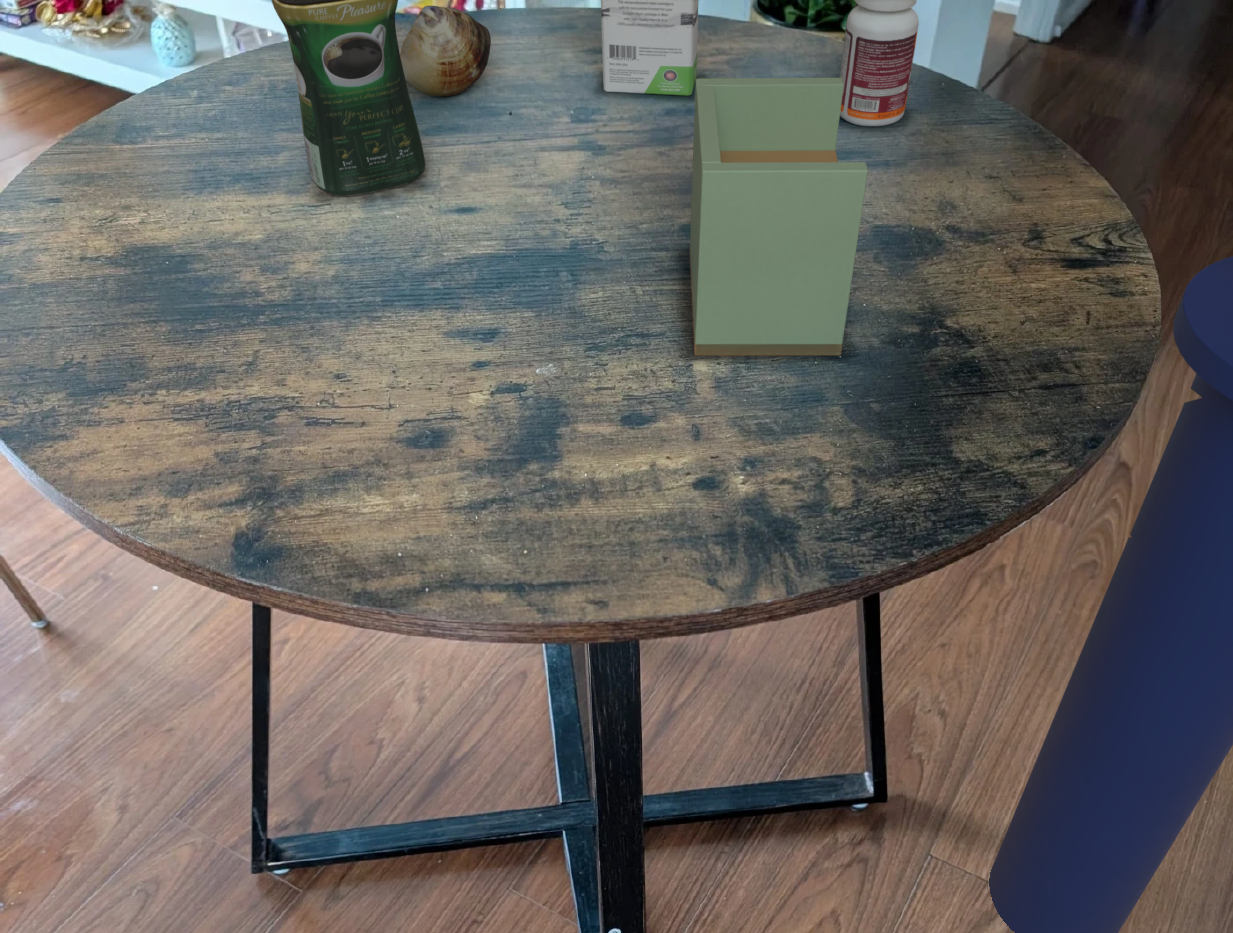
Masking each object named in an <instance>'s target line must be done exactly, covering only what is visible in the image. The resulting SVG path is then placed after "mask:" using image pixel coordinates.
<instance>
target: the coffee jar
mask: <svg viewBox="0 0 1233 933" xmlns="http://www.w3.org/2000/svg"><path fill="white" fill-rule="evenodd" d="M271 3H272V6H273V9H274V11H275V13H276V15H277V17H278V18H279V20H280V22H281V23H282V25H283V27H284V29H285V32H286V34H287V37H288V41H289V42H288V43H289V48H290V51H291V56H292V60H293V66H294V72H295V78H296V84H297V92H298V101H299V108H300V115H301V124H302V125H301V126H302V134H303V141H304V142H303V143H304V150H305V155H306V159H307V160H306V161H307V165H308V169H309V175H310V176H311V179H312V181H313V182H314V184H315V186H316V187H317V188H318V189H320V190H321V191H323V192H325V193H327V194H330V195H332V196H336V197H350V196H357V195H364V194H371V193H374V192H375V193H376V192H379V191H384V190H389V189H393V188H398V187H403V186H406V185H408V184H412V183H414V182H415V181H417V180H418V179H419V178H420V177H421V176H422V174H424V171H425V168H426V160H425V154H424V149H423V143H422V139H421V135H420V131H419V127H418V122H417V118H416V115H415V112H414V108H413V104H412V100H411V95H410V92H409V88H408V84H407V83H406V80H405V75H404V71H403V67H402V62H401V57H400V53H401V51H400V47H399V44H398V42H399V41H398V35H397V34H398V33H397V28H396V27H397V26H396V13H397V8H398V4H399V0H271Z"/></svg>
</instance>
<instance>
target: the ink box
mask: <svg viewBox="0 0 1233 933" xmlns="http://www.w3.org/2000/svg"><path fill="white" fill-rule="evenodd" d="M600 16H601V18H600V19H601V21H600V22H601V23H600V24H601V52H602V53H601V54H602V57H601V58H602V81H603V82H602V83H603V84H602V85H603V90H604V92H607V93H608V92H609V93H625V94H627V93H628V94H646V95H647V94H648V95H649V94H650V95H664V96H665V95H667V96H668V95H669V96H692V94H693V91H694V88H695V85H696V79H697V75H698V39H699V38H698V36H699V35H698V34H699V32H698V31H699V0H600Z"/></svg>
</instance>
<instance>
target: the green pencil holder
mask: <svg viewBox="0 0 1233 933" xmlns="http://www.w3.org/2000/svg"><path fill="white" fill-rule="evenodd" d="M843 87H844V84H843V81H842V78H840V77H734V78H733V77H730V78H728V77H727V78H726V77H723V78H722V77H721V78H717V77H716V78H715V77H713V78H710V77H709V78H708V77H707V78H705V77H704V78H696V81H695V85H694V88H695V90H694V117H693V120H694V121H693V146H692V172H691V173H692V174H691V175H692V176H691V199H690V200H691V202H690V228H689V270H690V290H691V309H692V310H691V311H692V312H691V314H692V330H693V333H692V334H693V353H694V356H841V355H842V351H843V350H842V349H843V344H844V342H843V341H844V336H845V335H844V334H845V328H846V322H847V315H848V308H849V302H850V296H851V288H852V283H853V276H854V275H853V274H854V269H855V261H856V255H857V247H858V241H859V234H860V228H861V221H862V215H863V208H864V200H865V195H866V194H865V193H866V188H867V180H868V174H869V168H868V166H867V163H866V162H865V161H839V159H838V154H837V152H836V150H837V143H838V142H837V141H838V133H839V127H840V126H839V125H840V119H841V116H840V111H841V103H842V95H843Z"/></svg>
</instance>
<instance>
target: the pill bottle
mask: <svg viewBox="0 0 1233 933" xmlns="http://www.w3.org/2000/svg"><path fill="white" fill-rule="evenodd" d="M854 2H855V4H857V5H856V6H854V8H853V9H851V11H850V12H849V13H848V16H847V18H846V24H845V31H844V32H845V33H844V40H843V46H842V47H843V48H842V57H841V65H840V74H839V78H842V81H843V84H844V87H843V95H842V103H841V111H840V118H841V119H843V120H845V121H846V122H848V123H850V124H853V125H855V126H862V127H882V126H889V125H892V124H895V123H897V122H898V121H900V120H901V119H902V118H903V116H904V114H905V110H906V105H907V100H908V93H909V88H910V82H911V76H912V69H913V64H914V56H915V50H916V44H917V36H918V30H919V25H920V24H919V23H920V22H919V21H920V20H919V15H918V14H917V12H916V10H915V9H913V7H915V5H916V4H917V0H854Z"/></svg>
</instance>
